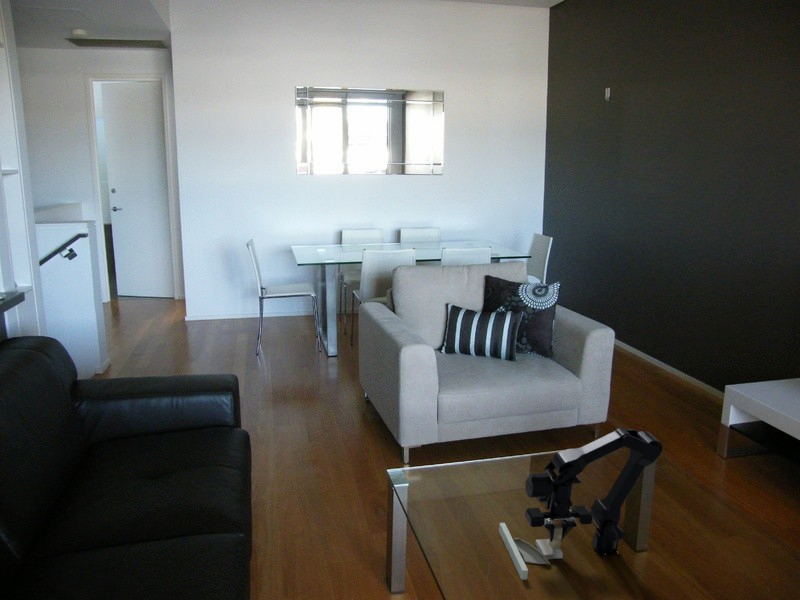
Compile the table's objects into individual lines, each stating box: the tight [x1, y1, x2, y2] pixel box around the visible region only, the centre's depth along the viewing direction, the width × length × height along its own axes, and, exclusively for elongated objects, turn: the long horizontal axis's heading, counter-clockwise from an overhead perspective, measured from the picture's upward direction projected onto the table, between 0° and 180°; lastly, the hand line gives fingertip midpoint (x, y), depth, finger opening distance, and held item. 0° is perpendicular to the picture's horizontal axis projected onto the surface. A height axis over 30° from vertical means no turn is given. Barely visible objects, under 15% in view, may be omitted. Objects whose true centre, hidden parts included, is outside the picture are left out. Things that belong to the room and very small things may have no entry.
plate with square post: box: [534, 522, 564, 560], centre depth 195 cm, size 6×7×9 cm
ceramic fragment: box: [513, 537, 552, 567], centre depth 193 cm, size 14×5×4 cm, turn 41°
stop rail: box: [498, 522, 529, 581], centre depth 194 cm, size 2×22×3 cm, turn 9°
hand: (555, 540), depth 195 cm, fingers closed on plate with square post, 2 cm apart
